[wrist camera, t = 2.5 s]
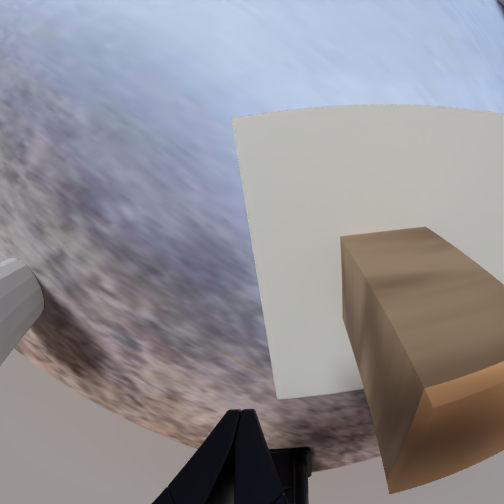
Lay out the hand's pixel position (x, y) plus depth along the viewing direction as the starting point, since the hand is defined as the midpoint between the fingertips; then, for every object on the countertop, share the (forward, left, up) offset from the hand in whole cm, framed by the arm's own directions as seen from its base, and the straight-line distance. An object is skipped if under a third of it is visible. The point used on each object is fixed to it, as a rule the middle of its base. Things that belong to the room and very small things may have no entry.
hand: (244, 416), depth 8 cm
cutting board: (0, -12, -10) cm, 15 cm away
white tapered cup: (+1, +20, -10) cm, 22 cm away
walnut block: (0, -7, -8) cm, 11 cm away
